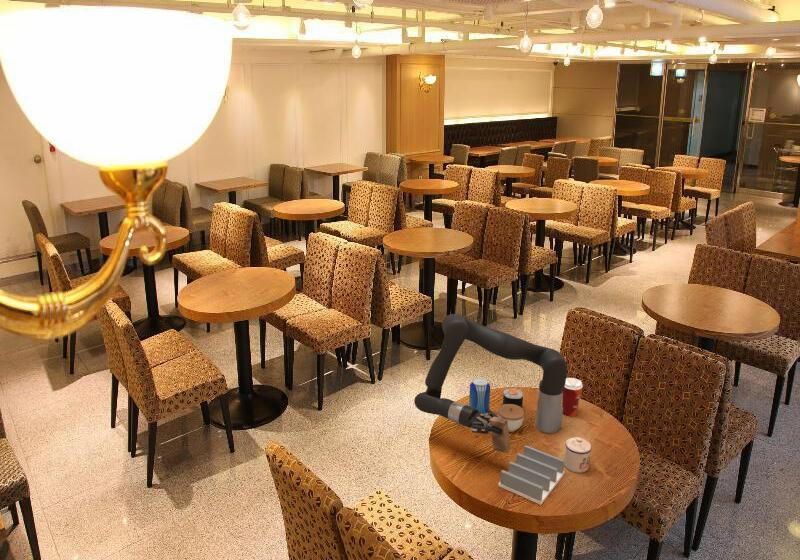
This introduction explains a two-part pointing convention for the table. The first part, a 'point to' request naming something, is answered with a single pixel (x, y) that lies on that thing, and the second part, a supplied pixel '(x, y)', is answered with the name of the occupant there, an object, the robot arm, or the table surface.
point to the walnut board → (500, 441)
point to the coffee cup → (571, 396)
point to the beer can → (480, 395)
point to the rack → (533, 474)
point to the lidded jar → (511, 415)
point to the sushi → (513, 397)
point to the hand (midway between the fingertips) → (504, 429)
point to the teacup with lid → (577, 454)
